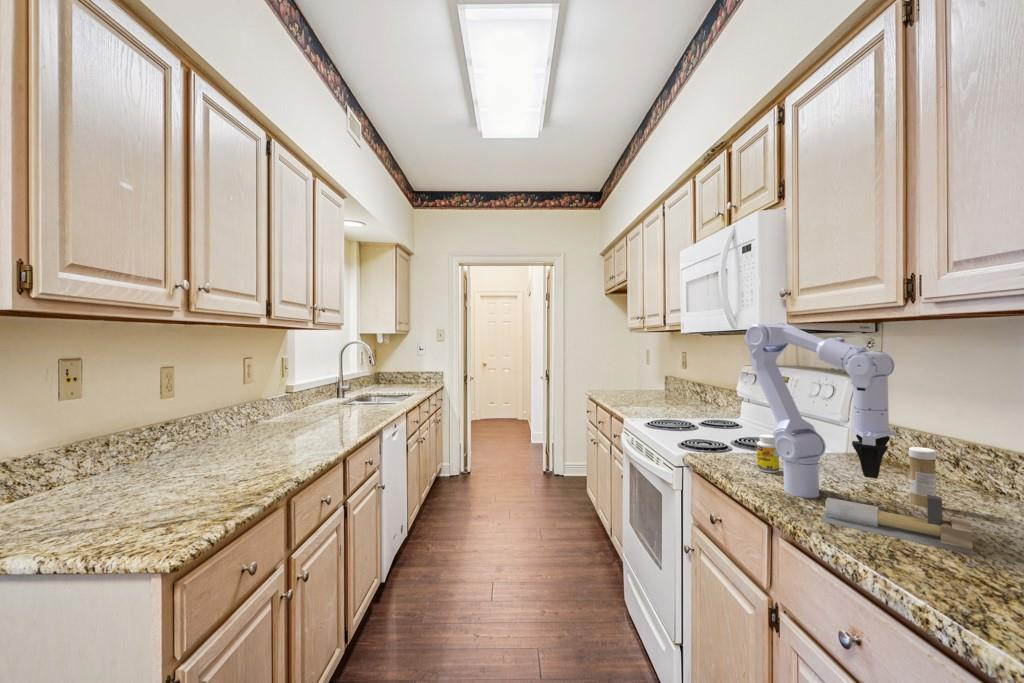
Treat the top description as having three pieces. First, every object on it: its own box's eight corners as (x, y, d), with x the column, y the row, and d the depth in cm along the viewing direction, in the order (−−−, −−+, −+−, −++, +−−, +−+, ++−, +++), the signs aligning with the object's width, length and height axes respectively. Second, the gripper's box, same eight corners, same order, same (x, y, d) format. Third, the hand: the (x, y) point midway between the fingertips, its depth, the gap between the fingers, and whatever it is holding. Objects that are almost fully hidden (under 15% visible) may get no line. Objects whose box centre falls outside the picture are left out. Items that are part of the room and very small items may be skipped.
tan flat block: (869, 518, 90) (868, 485, 90) (955, 535, 81) (954, 499, 81) (868, 521, 88) (867, 487, 88) (956, 539, 80) (955, 502, 80)
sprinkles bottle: (909, 502, 101) (908, 445, 101) (937, 507, 98) (936, 448, 98) (909, 508, 98) (908, 449, 98) (937, 514, 95) (936, 452, 95)
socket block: (939, 533, 84) (939, 514, 84) (969, 539, 81) (969, 520, 81) (941, 542, 80) (940, 523, 80) (972, 549, 77) (972, 529, 77)
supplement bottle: (753, 469, 129) (752, 435, 129) (765, 466, 131) (764, 433, 131) (771, 474, 124) (770, 438, 124) (783, 471, 126) (782, 436, 126)
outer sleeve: (827, 512, 95) (827, 497, 95) (878, 522, 89) (878, 506, 89) (825, 516, 93) (825, 501, 93) (877, 527, 87) (877, 511, 87)
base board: (827, 511, 98) (827, 506, 98) (968, 539, 83) (968, 534, 83) (820, 526, 90) (820, 521, 90) (974, 560, 76) (974, 554, 76)
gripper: (894, 415, 84) (896, 485, 84) (896, 405, 94) (897, 468, 94) (848, 412, 88) (850, 478, 88) (855, 403, 99) (856, 462, 99)
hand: (871, 472), depth 92 cm, fingers open, 7 cm apart
